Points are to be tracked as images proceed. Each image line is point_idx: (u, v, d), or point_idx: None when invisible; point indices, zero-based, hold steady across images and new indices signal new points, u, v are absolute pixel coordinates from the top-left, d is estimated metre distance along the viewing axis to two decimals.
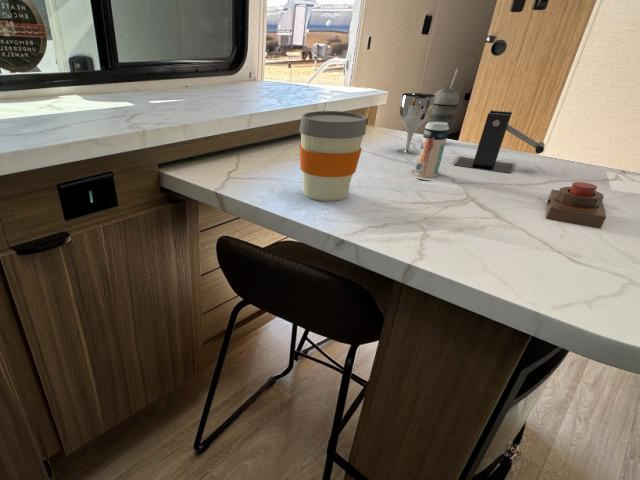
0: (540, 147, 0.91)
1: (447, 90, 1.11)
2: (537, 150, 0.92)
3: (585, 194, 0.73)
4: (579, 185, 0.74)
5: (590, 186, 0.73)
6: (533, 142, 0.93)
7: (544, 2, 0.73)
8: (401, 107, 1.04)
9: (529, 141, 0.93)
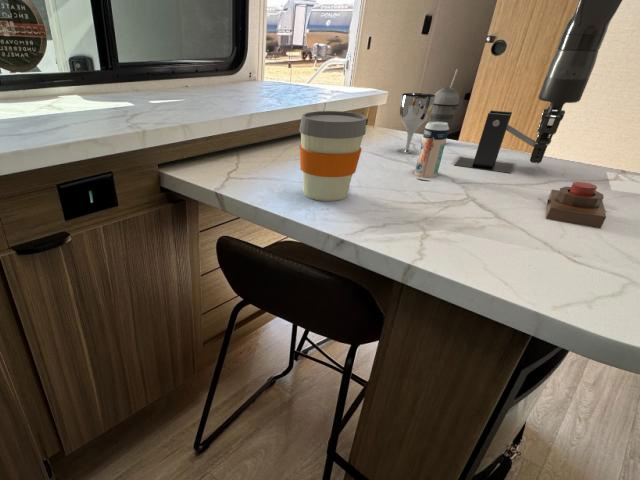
0: None
1: (447, 90, 1.11)
2: None
3: (585, 194, 0.73)
4: (579, 185, 0.74)
5: (590, 186, 0.73)
6: (533, 142, 0.93)
7: (537, 158, 0.91)
8: (401, 107, 1.05)
9: (529, 141, 0.93)
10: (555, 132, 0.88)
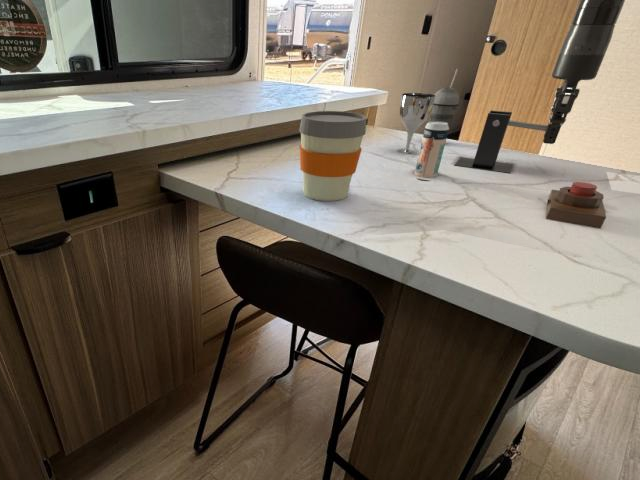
0: None
1: (447, 90, 1.11)
2: None
3: (585, 194, 0.73)
4: (579, 185, 0.74)
5: (590, 186, 0.73)
6: (543, 127, 0.91)
7: (551, 139, 0.89)
8: (401, 107, 1.05)
9: (538, 127, 0.91)
10: (569, 111, 0.85)
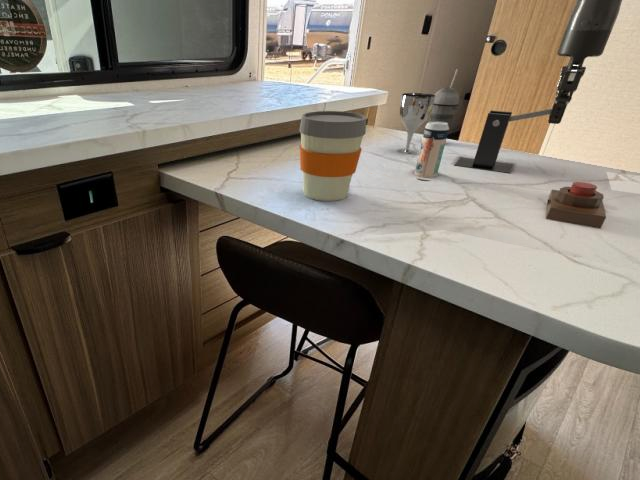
0: None
1: (447, 90, 1.11)
2: None
3: (585, 194, 0.73)
4: (579, 185, 0.74)
5: (590, 186, 0.73)
6: (546, 111, 0.89)
7: (556, 118, 0.87)
8: (401, 107, 1.05)
9: (542, 113, 0.90)
10: (576, 89, 0.83)
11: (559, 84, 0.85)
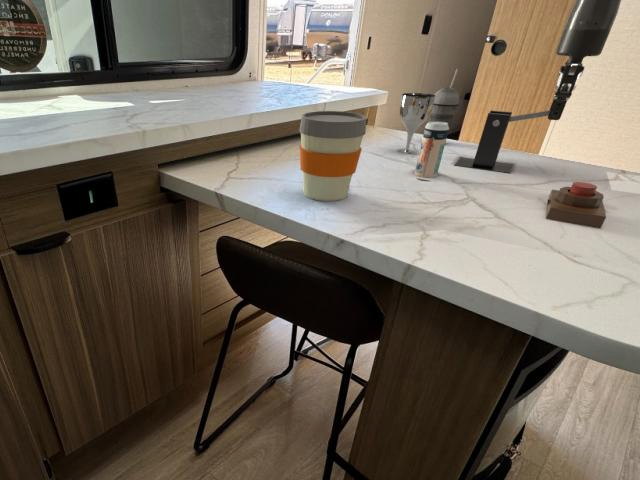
0: None
1: (447, 90, 1.11)
2: None
3: (585, 194, 0.73)
4: (579, 185, 0.74)
5: (590, 186, 0.73)
6: (546, 112, 0.90)
7: (556, 114, 0.85)
8: (401, 107, 1.05)
9: (541, 114, 0.90)
10: (575, 85, 0.83)
11: None
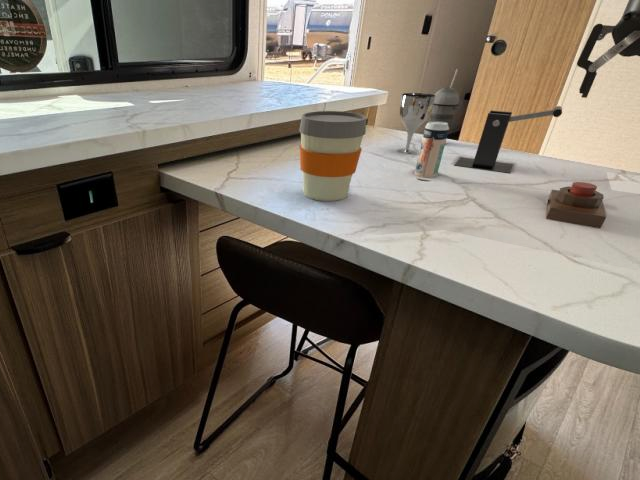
0: (556, 111, 0.87)
1: (447, 90, 1.11)
2: (555, 114, 0.87)
3: (585, 194, 0.73)
4: (579, 185, 0.74)
5: (590, 186, 0.73)
6: (546, 112, 0.90)
7: (579, 89, 0.70)
8: (401, 107, 1.05)
9: (541, 114, 0.90)
10: (605, 53, 0.65)
11: None
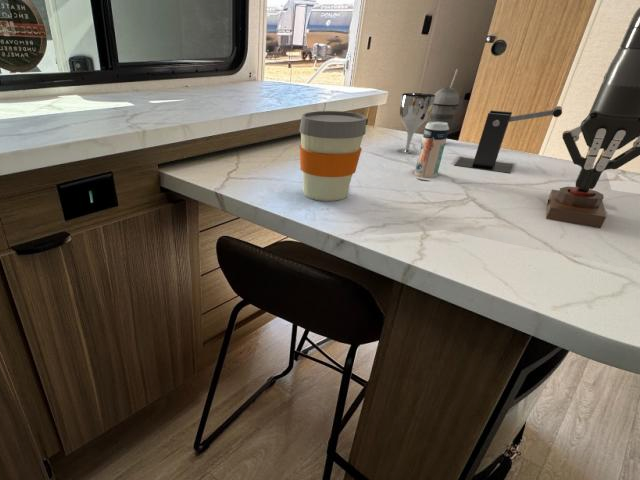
0: (556, 111, 0.87)
1: (447, 90, 1.11)
2: (555, 114, 0.87)
3: None
4: (577, 190, 0.74)
5: (588, 191, 0.74)
6: (546, 112, 0.90)
7: None
8: (401, 107, 1.05)
9: (541, 114, 0.90)
10: (588, 154, 0.71)
11: None
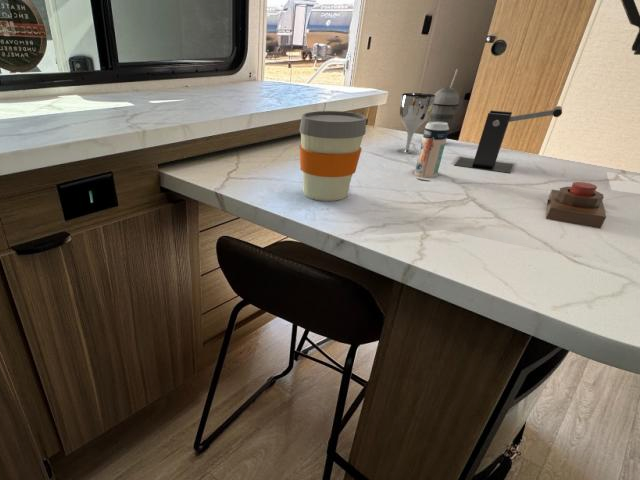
0: (556, 111, 0.87)
1: (447, 90, 1.11)
2: (555, 114, 0.87)
3: (585, 194, 0.73)
4: (579, 185, 0.74)
5: (590, 186, 0.73)
6: (546, 112, 0.90)
7: (632, 47, 0.73)
8: (401, 107, 1.05)
9: (541, 114, 0.90)
10: None
11: None
